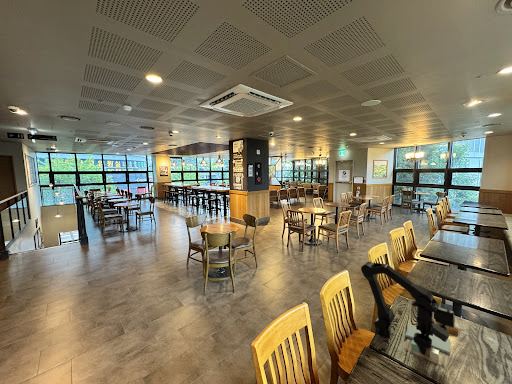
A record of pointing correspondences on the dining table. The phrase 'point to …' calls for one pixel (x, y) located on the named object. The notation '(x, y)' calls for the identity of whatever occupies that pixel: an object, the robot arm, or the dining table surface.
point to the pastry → (451, 330)
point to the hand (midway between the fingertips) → (424, 348)
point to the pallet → (441, 357)
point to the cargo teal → (414, 346)
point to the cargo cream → (434, 354)
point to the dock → (436, 341)
